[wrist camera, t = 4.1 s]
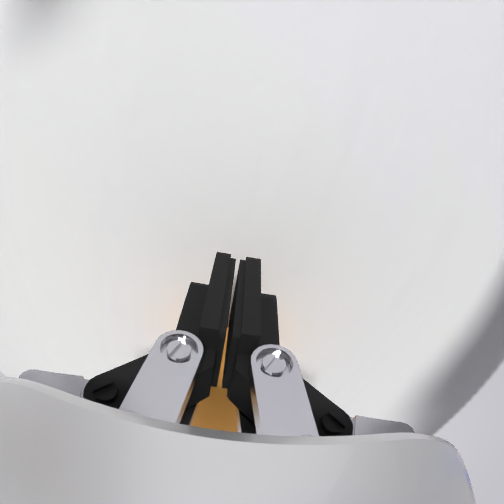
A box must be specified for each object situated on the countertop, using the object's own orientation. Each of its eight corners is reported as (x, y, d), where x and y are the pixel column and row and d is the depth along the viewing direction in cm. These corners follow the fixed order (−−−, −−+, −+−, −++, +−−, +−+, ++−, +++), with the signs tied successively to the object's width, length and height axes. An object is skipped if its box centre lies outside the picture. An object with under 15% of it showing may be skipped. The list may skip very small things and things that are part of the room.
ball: (269, 462, 11) (257, 410, 16) (303, 357, 11) (279, 327, 16) (148, 440, 10) (169, 392, 16) (163, 329, 11) (184, 307, 16)
